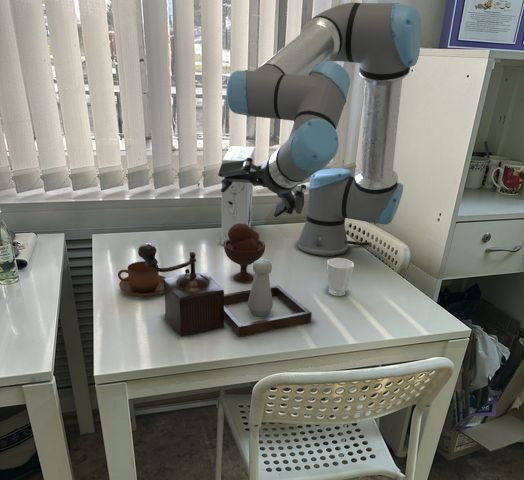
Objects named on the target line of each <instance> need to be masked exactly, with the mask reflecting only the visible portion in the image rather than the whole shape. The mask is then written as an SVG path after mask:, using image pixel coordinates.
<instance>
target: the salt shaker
mask: <svg viewBox="0 0 524 480" xmlns="http://www.w3.org/2000/svg"><path fill="white" fill-rule="evenodd" d="M251 267H252V271H253V272H254V273H253V274H254V275H253V280H252V282H251V287H250V290H251V291H250V295H249V300H248V301H247V308H248V310H249V312H250V314H251V316H253V318H258V319H264V318H267V317H269V315H270V313H271V311H272V309H273V308H274V302H273V297H272V294H271V282H270V274H271V272H272V270H273V264H272V262H271V260H268V259H262V258H260V259H258V260H256V261H254V263H252V266H251Z"/></svg>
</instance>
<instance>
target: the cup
mask: <svg viewBox="0 0 524 480" xmlns="http://www.w3.org/2000/svg"><path fill="white" fill-rule="evenodd" d="M354 268H355V263H354V261H352V260H349V259H347V258H342V257H333V258H330V259H327V268H326V274H327V284H328V294H330V295H332V296H334V297H342V296H345V295H346V291H347V289H348V287H349V284H350V281H351V278H352V276H353V275H352V274H353V271H354Z"/></svg>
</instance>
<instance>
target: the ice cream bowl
mask: <svg viewBox="0 0 524 480" xmlns="http://www.w3.org/2000/svg"><path fill="white" fill-rule="evenodd" d="M227 235H228V237H229V239H228V240H226V241H224V242H223V244H224V245H223V250H224V253H225V255H226V258H228V259H229V260H230V261H232V262H233V263H235V264H236V265H239V266H240V268H239V269H240V270H239V272H238V273H235V274H234V275H233V278H232V279H233V281H235V282H237V283H242V284H245V283H252V282H253V278H254V275H253V274H251V273H249V272H248V266H250V265H253V263H254V261H256V260H259V259H262V257H263V256H264V253H265V251H266V243H265V242H264V241H262V240H260V234H259V233H258V232H257V231H256V230H255V229H253V228H252V227H251V228H250V227H249V226H248V225H246V224H242V223H238V224H235V225H233V226H232V227H231V228H230V229H229V232H228V234H227Z"/></svg>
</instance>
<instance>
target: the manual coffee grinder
mask: <svg viewBox="0 0 524 480" xmlns="http://www.w3.org/2000/svg"><path fill="white" fill-rule="evenodd" d="M137 250H138V251H137V254H138V256H139V257H140V258H141V259H142V260H143V261H145V266H146V267H151V268H152V269H154V270H155V271H158V272H159V273H169V272H173V271H176V270H177V271H178V270H181V269H184V268H186V267H189V266H190V269H189V268H186V269H185V270H184V272H185V273H182V274H178V275H176V276H174V277H165V278H166V279H164V291H163V293H164V316H165V319H166V321H167V323H168V324H169V325H170V327H171V328H172V329H173V331H174V332H175V333H176V334H177V335H178V336H180V337H190V336H194V335H198V334H204V333H208V332H212V331H216V330H220V329H224V328H225V321H224V294H225V291H224V289H223V288H222V286H221V285H220V284H219V283H218V282H217V281H216V280H215V279H214V278H213V277H212V276H211V275H209V273H207V272H206V271H205V272H200V273H199V272H196V263H197V258H196V255H197V254H196V253H195V252H194V251H190V252H189V259H188V260H187V261H185V262H183V263H179V264H177V265H173V266H169V267H160V266H158V267H157V266H156V265H158V263H159V260H157V258H156V254H157V252H158V251H157V250H158V249H157V248H156V246H155V245H154V244H153V243H149V242H146V243H142V244H141V245H140V246H139V247H138V249H137Z"/></svg>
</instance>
